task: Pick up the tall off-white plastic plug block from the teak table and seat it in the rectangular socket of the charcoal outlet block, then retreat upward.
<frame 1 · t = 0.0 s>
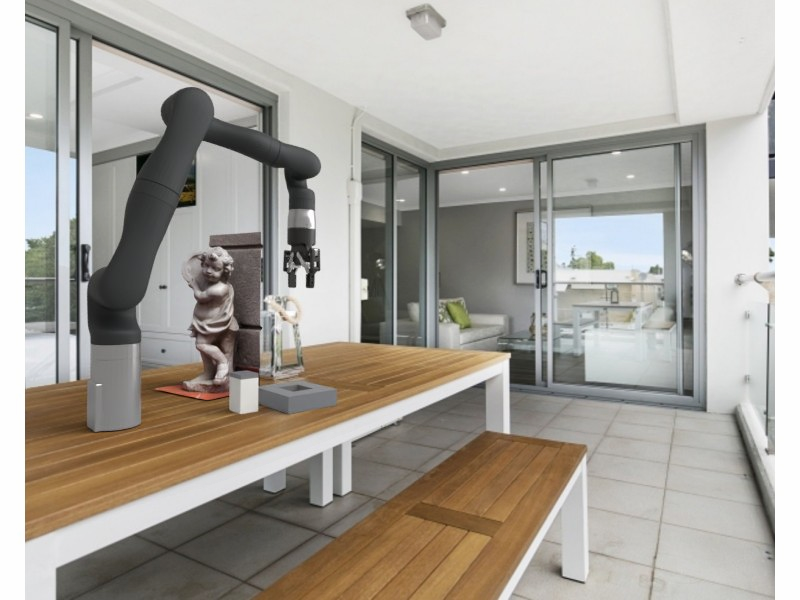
hand: (300, 287, 136), 29 cm above the table, fingers open, 8 cm apart
outlet: (295, 403, 127), on the table
cherub statue: (209, 391, 142), on the table
plug: (243, 410, 119), on the table
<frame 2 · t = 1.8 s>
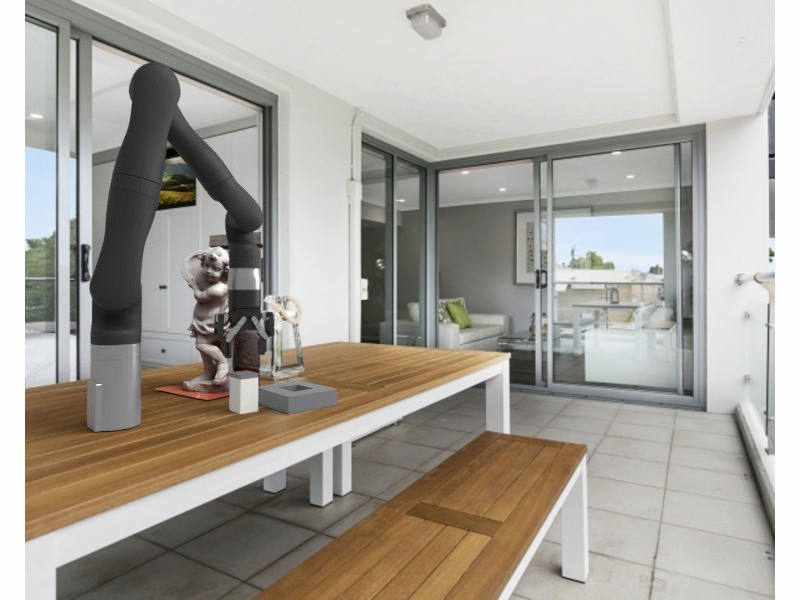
hand: (245, 356, 119), 13 cm above the table, fingers open, 8 cm apart
nothing on the table moved.
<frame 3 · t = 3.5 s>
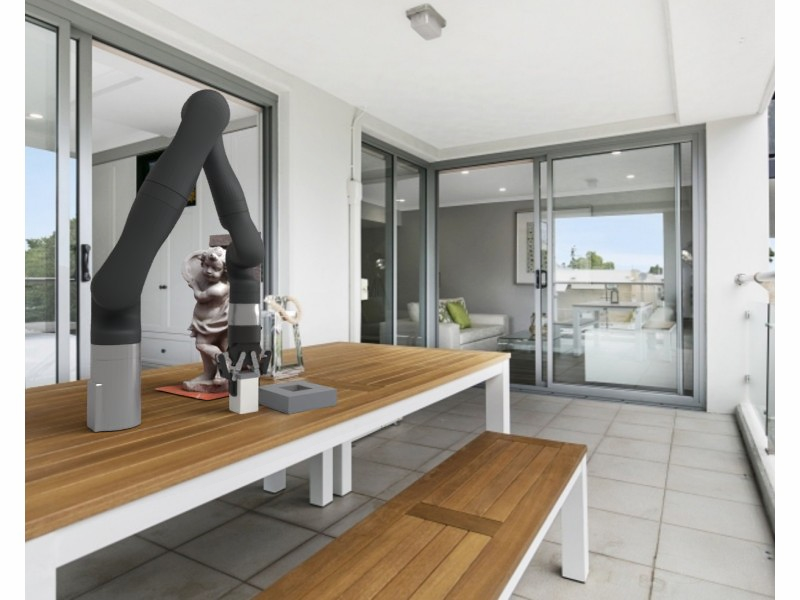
hand: (243, 394, 119), 4 cm above the table, fingers closed on plug, 4 cm apart
plug: (243, 410, 119), on the table, touching gripper
everything else where it was.
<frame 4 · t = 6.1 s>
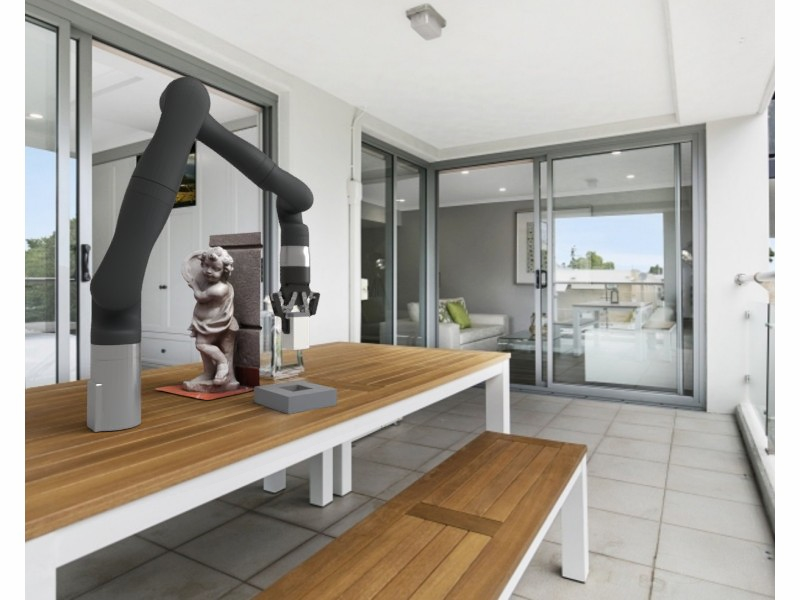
hand: (295, 332, 127), 18 cm above the table, fingers closed on plug, 4 cm apart
plug: (295, 348, 127), point 14 cm above the table, touching gripper
everything else where it was.
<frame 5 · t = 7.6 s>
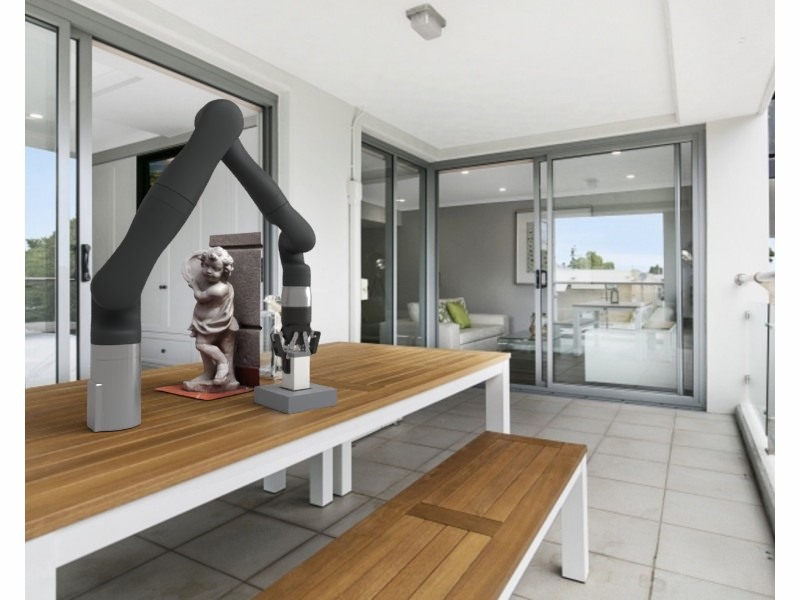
hand: (295, 372, 127), 8 cm above the table, fingers closed on plug, 4 cm apart
plug: (295, 387, 127), point 4 cm above the table, touching gripper
everything else where it was.
when the fingers open (5 cm above the table, at t = 8.9 s): plug stays where it is, resting on outlet.
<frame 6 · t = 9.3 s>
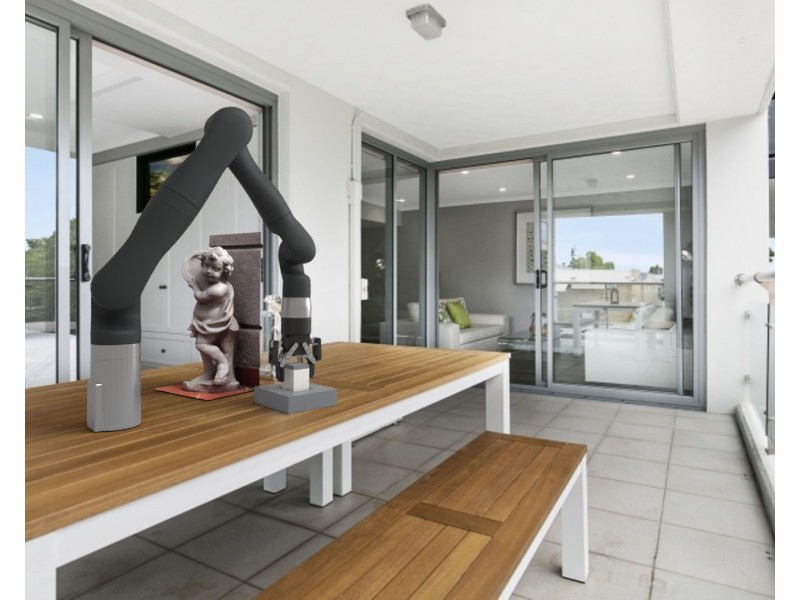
hand: (295, 379, 127), 6 cm above the table, fingers open, 8 cm apart
plug: (295, 399, 127), point 1 cm above the table, touching outlet
everything else where it was.
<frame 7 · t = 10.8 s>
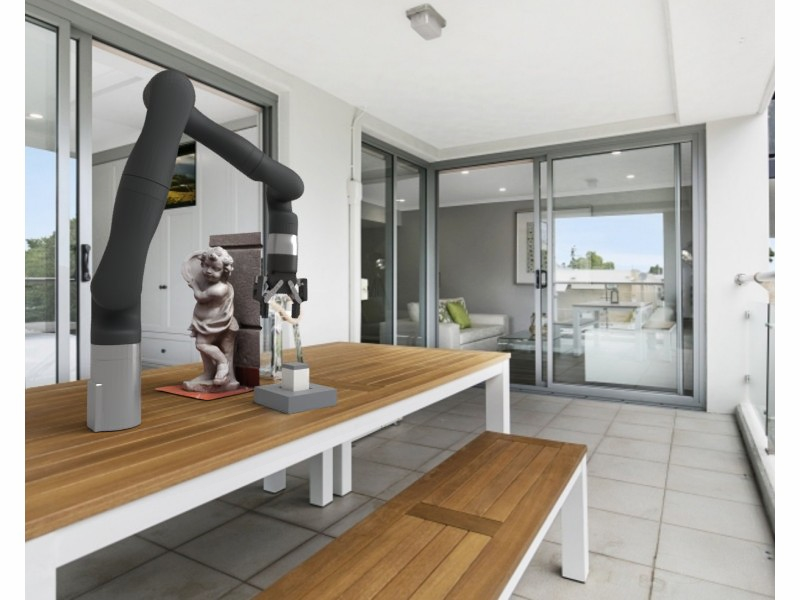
hand: (280, 318, 126), 22 cm above the table, fingers open, 8 cm apart
nothing on the table moved.
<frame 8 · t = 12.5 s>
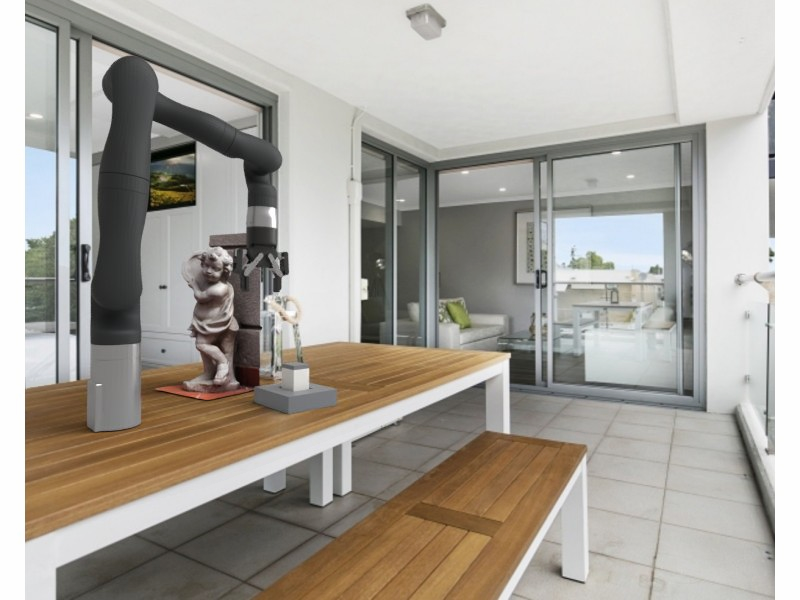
hand: (261, 292, 125), 28 cm above the table, fingers open, 8 cm apart
nothing on the table moved.
at the end: plug 0.1 cm off-centre on the outlet, point 1.1 cm above the outlet's base; the gripper is holding nothing; plug tilted 0° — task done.
